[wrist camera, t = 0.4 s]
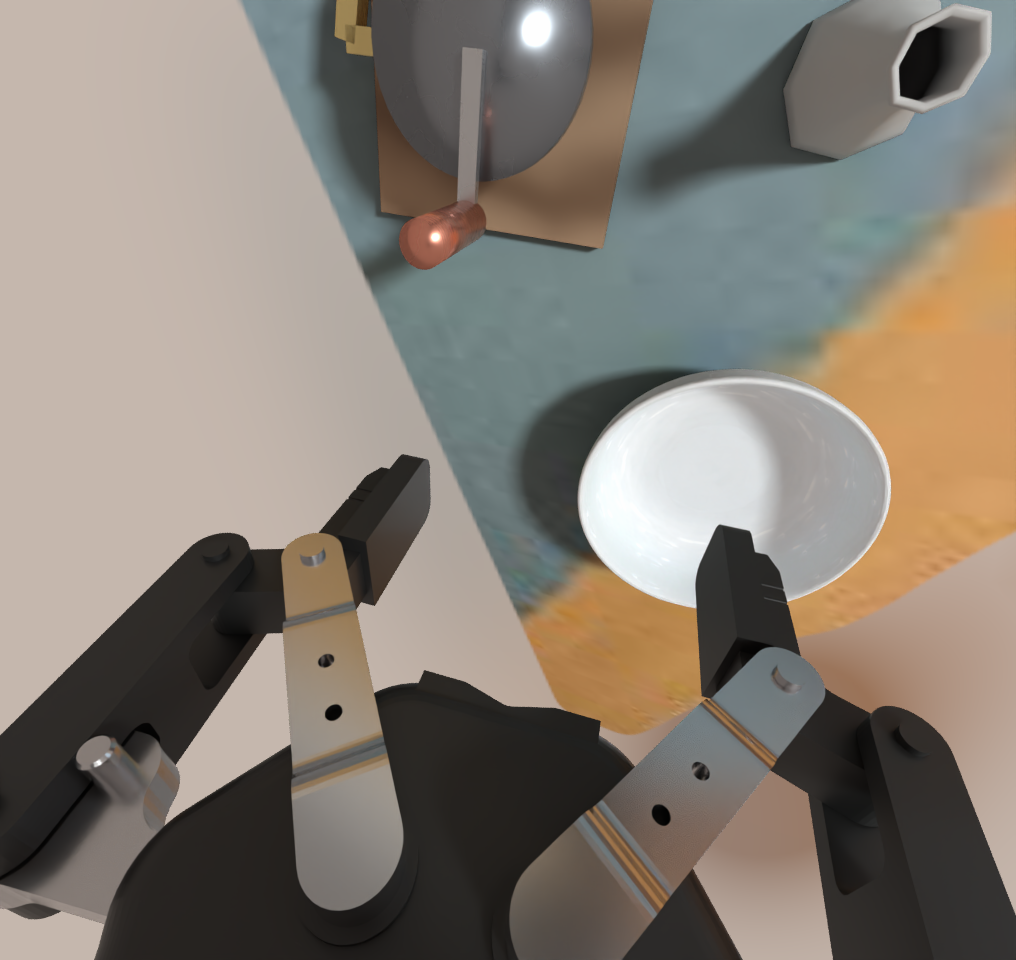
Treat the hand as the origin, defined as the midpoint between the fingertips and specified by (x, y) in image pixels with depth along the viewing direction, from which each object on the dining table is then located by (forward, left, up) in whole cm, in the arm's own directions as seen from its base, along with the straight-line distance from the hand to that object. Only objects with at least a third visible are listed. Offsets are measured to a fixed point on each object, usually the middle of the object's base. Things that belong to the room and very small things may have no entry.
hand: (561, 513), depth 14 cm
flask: (-12, +10, -27) cm, 31 cm away
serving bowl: (+13, +11, -27) cm, 32 cm away
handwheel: (-11, -11, -26) cm, 30 cm away
